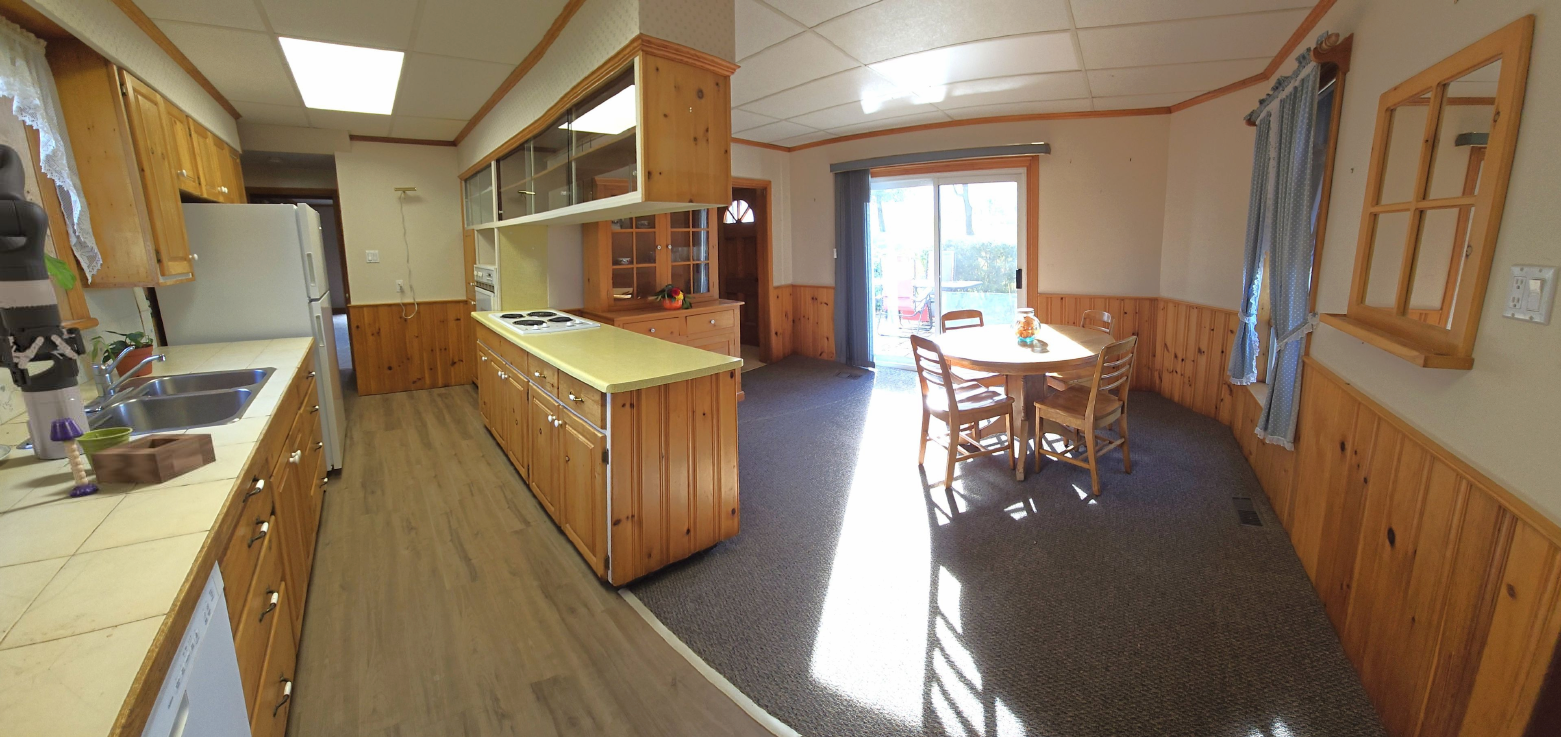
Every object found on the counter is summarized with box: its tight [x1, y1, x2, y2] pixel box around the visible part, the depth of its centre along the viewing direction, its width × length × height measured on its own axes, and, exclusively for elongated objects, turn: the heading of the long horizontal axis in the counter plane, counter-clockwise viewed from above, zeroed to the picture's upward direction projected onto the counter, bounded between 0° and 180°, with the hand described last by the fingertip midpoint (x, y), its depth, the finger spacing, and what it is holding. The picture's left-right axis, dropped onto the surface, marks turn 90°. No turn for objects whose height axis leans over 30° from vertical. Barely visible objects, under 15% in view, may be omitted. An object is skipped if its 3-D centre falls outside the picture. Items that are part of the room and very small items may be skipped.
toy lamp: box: [50, 418, 100, 498], centre depth 130 cm, size 5×5×17 cm
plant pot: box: [75, 427, 133, 472], centre depth 146 cm, size 9×9×9 cm
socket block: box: [91, 433, 217, 484], centre depth 144 cm, size 14×14×7 cm
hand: (48, 381), depth 126 cm, fingers open, 8 cm apart
